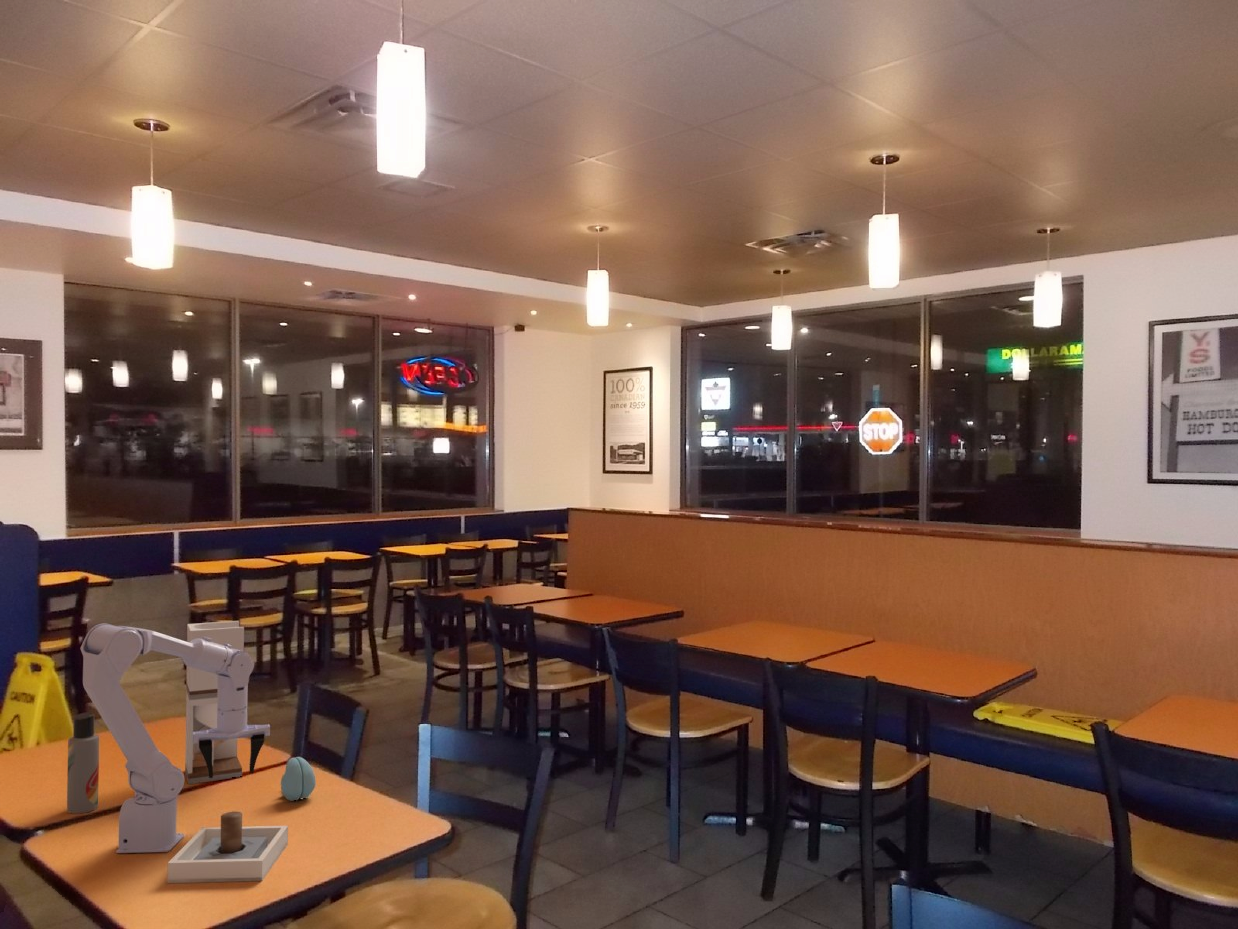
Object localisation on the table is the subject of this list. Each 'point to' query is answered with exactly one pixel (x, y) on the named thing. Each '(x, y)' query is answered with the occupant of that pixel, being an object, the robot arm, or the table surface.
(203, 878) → the box
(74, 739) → the lotion bottle
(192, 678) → the tall white shelf
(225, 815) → the peg
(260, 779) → the table surface
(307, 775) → the toy flower bud
